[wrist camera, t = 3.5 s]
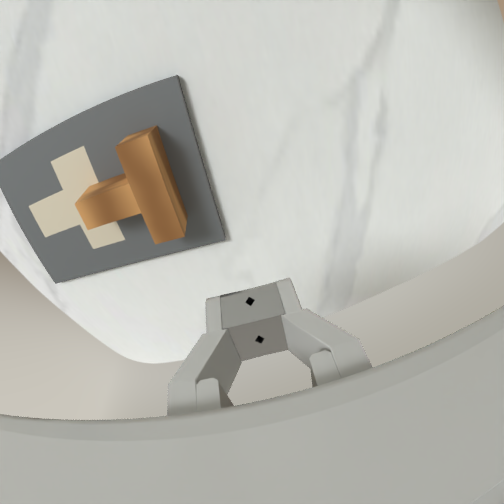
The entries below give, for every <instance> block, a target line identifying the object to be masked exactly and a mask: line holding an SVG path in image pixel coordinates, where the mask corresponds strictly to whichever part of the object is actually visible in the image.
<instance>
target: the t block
mask: <svg viewBox="0 0 504 504" xmlns="http://www.w3.org/2000/svg"><path fill="white" fill-rule="evenodd" d="M115 149H116V152H117V154H118V157H119V160H120V162H121V165H122V167H123V170H124V173H123V174H120V175H118V176H115V177H112V178H110V179H107V180H104V181H102V182H99V183H96V184H94V185H91V186H89V187H88V188H87V189H86V191H85V192H84V193H83V194H82V195H81V197H80V198H79V199H78V200H77V201H76V203H75V206H76V208H77V210H78V212H79V214H80V216H81V218H82V220H83V222H84V224H85V226H86V228H87V230H90V229H93V228H96V227H99V226H102V225H105V224H108V223H112V222H115V221H118V220H121V219H124V218H127V217H131V216H134V215H137V214H140V213H141V214H142V216H143V218H144V220H145V223H146V225H147V227H148V230H149V232H150V234H151V236H152V238H153V241H154V243H155V244H159V243H163V242H167V241H170V240H174V239H178V238H182V237H185V231H186V224H187V218H188V215H187V212H186V210H185V207H184V204H183V201H182V199H181V196H180V193H179V190H178V187H177V184H176V182H175V179H174V176H173V173H172V170H171V167H170V164H169V161H168V158H167V155H166V152H165V149H164V146H163V143H162V140H161V137H160V134H159V131H158V128H157V125H156V126H153V127H150V128H147V129H144V130H141V131H139V132H136V133H133V134H130V135H128V136H126V137H125V138H124V139H123V140H122V141H121V142H120V143H119V144H118V145H117V146H116V147H115Z"/></svg>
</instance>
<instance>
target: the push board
mask: <svg viewBox="0 0 504 504" xmlns="http://www.w3.org/2000/svg"><path fill="white" fill-rule="evenodd" d="M156 125H157V128H158V131H159V134H160V137H161V140H162V143H163V146H164V149H165V152H166V155H167V158H168V161H169V164H170V167H171V170H172V173H173V176H174V179H175V182H176V184H177V187H178V190H179V193H180V196H181V199H182V201H183V204H184V207H185V210H186V212H187V215H188V218H187V224H186V231H185V237H182V238H178V239H174V240H170V241H167V242H163V243H159V244H155V243H154V241H153V238H152V236H151V234H150V232H149V230H148V227H147V225H146V223H145V220H144V218H143V216H142V214H141V213H140V214H137V215H134V216H131V217H127V218H124V219H121V220H118V221H115V222H112V223H108V224H105V225H102V226H99V227H96V228H93V229H90V230H87V228H86V226H85V224H84V222H83V220H82V218H81V216H80V214H79V212H78V210H77V208H76V206H75V203H76V201H77V200H78V199H79V198H80V197H81V195H82V194H83V193H84V192H85V191H86V189H87V188H88V187H89V186H91V185H94V184H96V183H99V182H102V181H104V180H107V179H110V178H112V177H115V176H118V175H120V174H123V173H124V170H123V167H122V165H121V162H120V160H119V157H118V154H117V152H116V149H115V147H116V146H117V145H118V144H119V143H120V142H121V141H122V140H123V139H124V138H125V137H126V136H128V135H130V134H133V133H136V132H139V131H141V130H144V129H147V128H150V127H153V126H156ZM0 188H1V190H2V192H3V194H4V196H5V198H6V200H7V202H8V204H9V206H10V208H11V210H12V212H13V214H14V216H15V218H16V220H17V221H18V223H19V225H20V227H21V229H22V231H23V232H24V234H25V236H26V238H27V239H28V241H29V243H30V244H31V246H32V248H33V249H34V251H35V253H36V254H37V256H38V258H39V259H40V261H41V262H42V264H43V266H44V267H45V269H46V270H47V272H48V273H49V275H50V276H51V278H52V279H53V281H54V282H55V284H56V283H60V282H63V281H67V280H71V279H75V278H78V277H82V276H86V275H90V274H93V273H97V272H101V271H105V270H109V269H113V268H116V267H120V266H124V265H128V264H132V263H136V262H140V261H144V260H148V259H151V258H155V257H159V256H163V255H167V254H171V253H175V252H179V251H183V250H187V249H191V248H196V247H200V246H204V245H208V244H212V243H216V242H220V241H224V240H225V233H224V230H223V227H222V224H221V220H220V217H219V214H218V211H217V207H216V204H215V201H214V198H213V194H212V191H211V188H210V184H209V181H208V178H207V174H206V171H205V168H204V164H203V161H202V158H201V154H200V151H199V147H198V144H197V141H196V137H195V134H194V130H193V127H192V123H191V120H190V117H189V113H188V110H187V106H186V103H185V99H184V96H183V92H182V88H181V85H180V81H179V78H178V75H176V76H173V77H170V78H167V79H164V80H161V81H158V82H155V83H152V84H149V85H146V86H143V87H141V88H138V89H135V90H133V91H130V92H128V93H125V94H123V95H120V96H118V97H115V98H113V99H110V100H108V101H106V102H103V103H101V104H99V105H97V106H95V107H92V108H90V109H88V110H86V111H84V112H82V113H80V114H78V115H76V116H74V117H72V118H70V119H68V120H66V121H64V122H62V123H60V124H58V125H56V126H54V127H53V128H51V129H49V130H47V131H45V132H44V133H42V134H40V135H38V136H37V137H35V138H33V139H32V140H30V141H28V142H27V143H25V144H24V145H22V146H20V147H19V148H17V149H16V150H14V151H13V152H11V153H10V154H8V155H7V156H5V157H4V158H2V159H1V160H0Z"/></svg>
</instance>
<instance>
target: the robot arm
mask: <svg viewBox="0 0 504 504" xmlns="http://www.w3.org/2000/svg"><path fill="white" fill-rule="evenodd" d="M205 303H206V332H207V333H206V334H202V336H201V337H200V339H199V340H198V342H197V343H196V345H195V346H194V347H193V349H192V350H191V352H190V353H189V355H188V356H187V358H186V359H185V361H184V362H183V364H182V365H181V367H180V368H179V369H178V371H177V372H176V374H175V375H174V377H173V378H172V379H171V381H170V383H169V384H168V410H167V411H168V412H167V416H160V417H149V418H136V419H116V420H59V419H41V418H28V417H19V416H10V415H3V414H0V504H504V306H502V307H500V308H499V309H497V310H495V311H493V312H492V313H490V314H488V315H486V316H485V317H483V318H481V319H479V320H478V321H476V322H474V323H472V324H470V325H468V326H467V327H464V328H463V329H460V330H458V331H456V332H455V333H453V334H450V335H448V336H446V337H444V338H442V339H440V340H438V341H436V342H434V343H432V344H430V345H427V346H425V347H423V348H420V349H418V350H416V351H414V352H411V353H409V354H406V355H404V356H402V357H399V358H397V359H394V360H392V361H389V362H387V363H384V364H381V365H379V366H376V367H372V365H371V363H370V361H369V359H368V357H367V355H366V352H365V350H364V348H363V346H362V344H361V342H360V340H359V339H358V338H357V337H355V336H353V335H352V334H349V333H348V332H346V331H345V330H342V329H341V328H339V327H338V326H336V325H334V324H332V323H331V322H329V321H327V320H325V319H324V318H322V317H320V316H319V315H317V314H315V313H313V312H312V311H310V310H308V309H303V310H302V307H301V305H300V302H299V299H298V297H297V294H296V291H295V289H294V286H293V284H292V281H291V279H290V278H286V279H283V280H279V281H276V282H273V283H270V284H266V285H262V286H258V287H254V288H251V289H247V290H242V291H238V292H233V293H229V294H224V295H220V296H217V297H212V298H208V299H206V302H205ZM285 350H289V351H290V352H291V353H292V354H293V355H295V356H296V357H297V358H298V359H299V360H301V361H302V362H303V363H304V364H305V365H307V366H308V367H309V368H310V369H311V377H312V388H309V389H305V390H302V391H298V392H294V393H290V394H286V395H283V396H278V397H275V398H270V399H266V400H261V401H256V402H252V403H247V404H242V405H237V406H234V405H233V404H232V402H231V400H230V399H229V398H228V396H227V394H228V392H229V390H230V388H231V385H232V383H233V381H234V379H235V377H236V374H237V372H238V370H239V368H240V365H241V363H242V362H241V361H244V360H248V359H252V358H256V357H259V356H263V355H267V354H272V353H276V352H281V351H285Z"/></svg>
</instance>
